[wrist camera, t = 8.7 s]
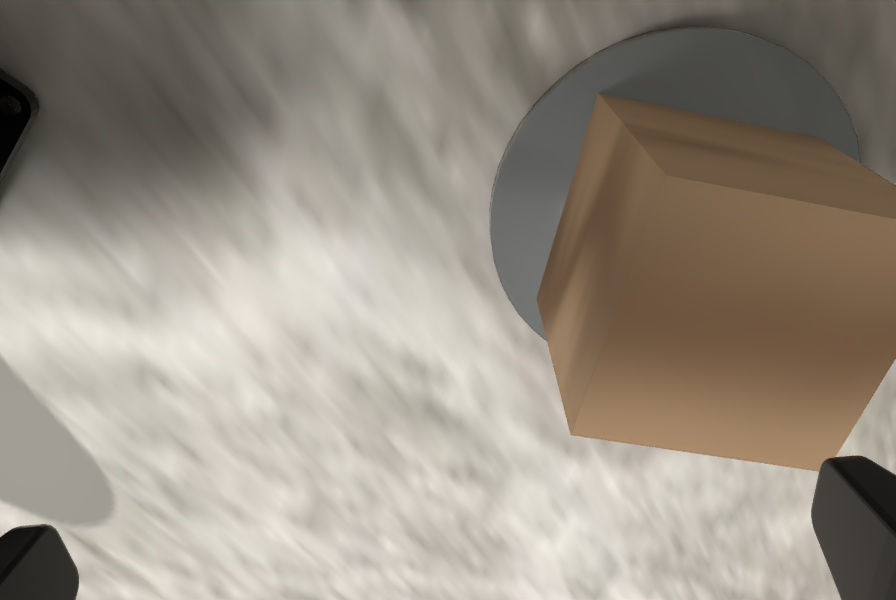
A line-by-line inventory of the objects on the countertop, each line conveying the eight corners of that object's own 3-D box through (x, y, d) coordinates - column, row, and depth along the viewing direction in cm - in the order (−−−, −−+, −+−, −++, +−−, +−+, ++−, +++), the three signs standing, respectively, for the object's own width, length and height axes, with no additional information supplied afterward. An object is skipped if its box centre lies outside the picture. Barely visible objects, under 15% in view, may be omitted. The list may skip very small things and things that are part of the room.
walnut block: (729, 331, 21) (825, 472, 16) (536, 298, 21) (570, 435, 15) (819, 138, 18) (971, 233, 13) (597, 93, 18) (666, 175, 13)
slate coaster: (655, 411, 24) (660, 423, 23) (417, 238, 20) (416, 247, 20) (922, 189, 20) (935, 196, 19) (682, -67, 17) (690, -66, 16)
